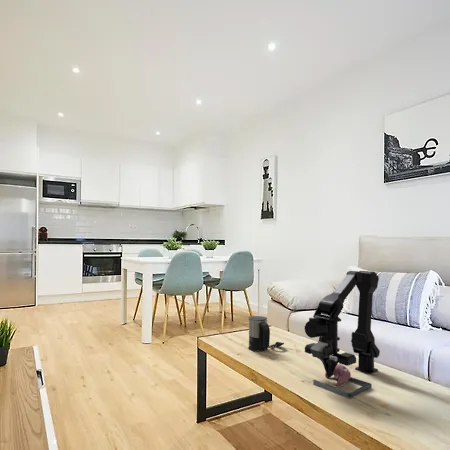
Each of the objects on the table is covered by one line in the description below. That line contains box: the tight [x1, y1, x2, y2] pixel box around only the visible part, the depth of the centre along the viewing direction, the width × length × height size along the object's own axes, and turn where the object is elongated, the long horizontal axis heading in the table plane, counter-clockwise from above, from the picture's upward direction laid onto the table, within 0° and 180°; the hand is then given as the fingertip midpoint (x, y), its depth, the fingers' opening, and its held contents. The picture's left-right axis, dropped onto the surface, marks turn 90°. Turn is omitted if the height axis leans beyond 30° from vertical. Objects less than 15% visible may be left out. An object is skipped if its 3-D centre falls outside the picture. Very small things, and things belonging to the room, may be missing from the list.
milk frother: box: [247, 315, 285, 352], centre depth 168 cm, size 14×16×15 cm
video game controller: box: [324, 363, 352, 387], centre depth 129 cm, size 10×5×7 cm, turn 12°
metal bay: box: [312, 374, 373, 399], centre depth 124 cm, size 14×15×2 cm
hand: (329, 377), depth 128 cm, fingers closed
